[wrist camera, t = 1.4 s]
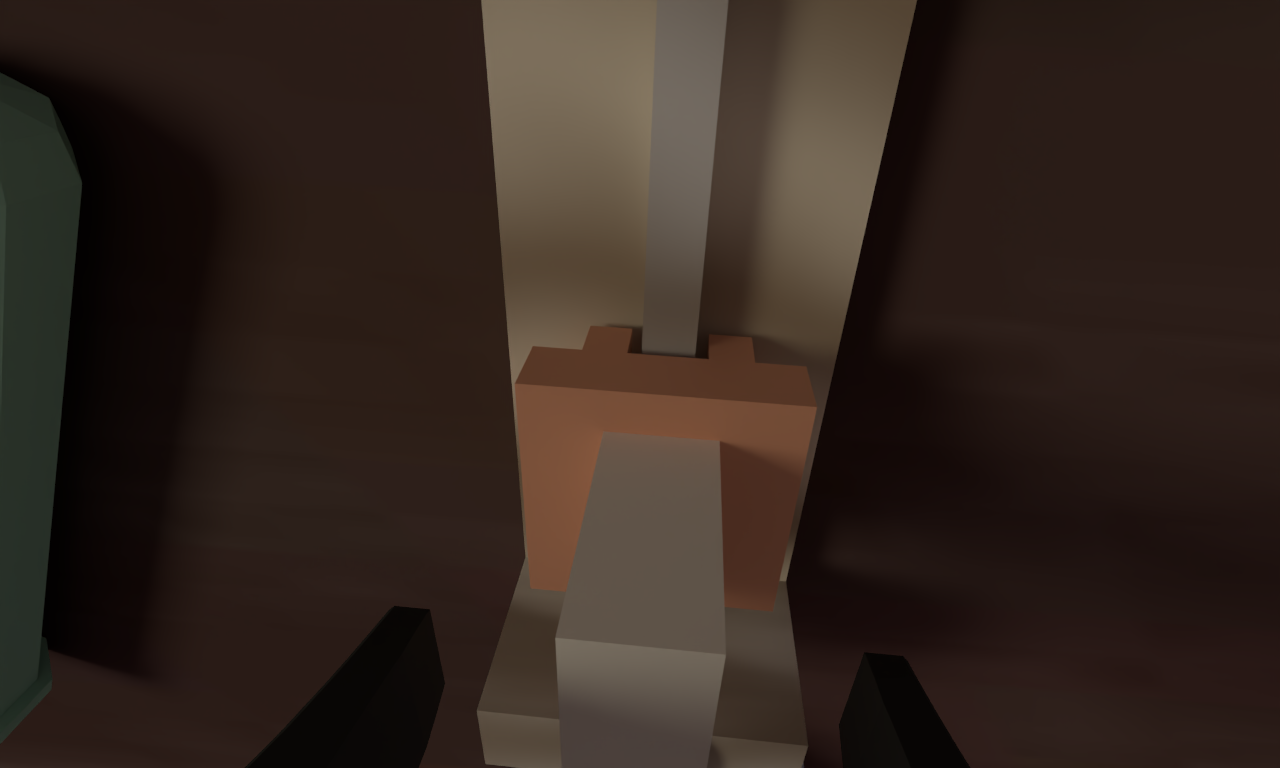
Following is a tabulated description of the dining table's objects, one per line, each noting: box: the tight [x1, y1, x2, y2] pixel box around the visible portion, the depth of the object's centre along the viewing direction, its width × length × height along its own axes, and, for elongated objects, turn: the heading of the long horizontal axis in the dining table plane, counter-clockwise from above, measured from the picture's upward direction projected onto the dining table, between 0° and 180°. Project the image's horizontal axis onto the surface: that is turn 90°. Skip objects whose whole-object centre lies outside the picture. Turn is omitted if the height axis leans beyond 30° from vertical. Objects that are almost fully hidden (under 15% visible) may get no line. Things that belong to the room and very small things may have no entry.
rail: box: [477, 0, 917, 768], centre depth 13 cm, size 23×8×7 cm, turn 178°
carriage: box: [515, 326, 817, 768], centre depth 13 cm, size 6×6×8 cm
